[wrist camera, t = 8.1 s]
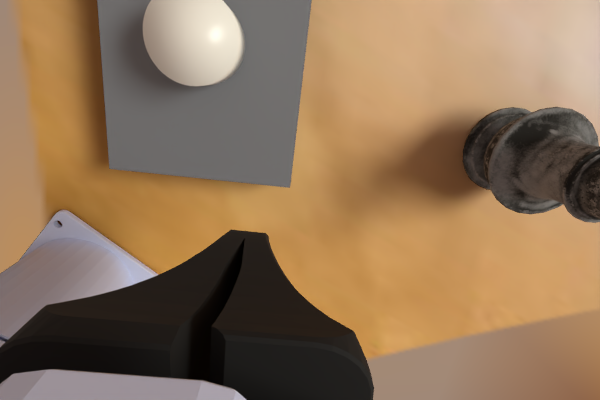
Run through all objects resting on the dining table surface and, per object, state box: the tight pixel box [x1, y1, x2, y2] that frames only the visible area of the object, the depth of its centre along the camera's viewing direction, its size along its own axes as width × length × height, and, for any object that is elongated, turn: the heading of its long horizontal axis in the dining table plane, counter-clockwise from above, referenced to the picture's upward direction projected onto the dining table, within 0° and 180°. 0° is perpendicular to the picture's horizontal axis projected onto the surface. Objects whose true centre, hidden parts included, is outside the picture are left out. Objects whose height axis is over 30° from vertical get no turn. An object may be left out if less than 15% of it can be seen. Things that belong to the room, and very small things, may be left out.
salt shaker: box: [463, 107, 600, 223], centre depth 16 cm, size 6×6×12 cm
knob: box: [143, 0, 245, 86], centre depth 17 cm, size 4×4×5 cm
